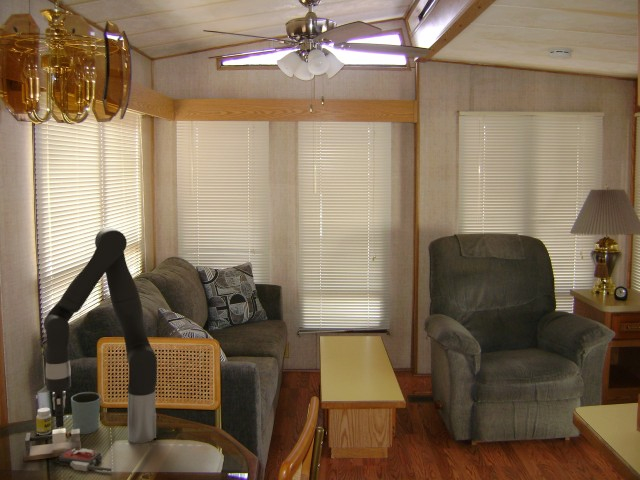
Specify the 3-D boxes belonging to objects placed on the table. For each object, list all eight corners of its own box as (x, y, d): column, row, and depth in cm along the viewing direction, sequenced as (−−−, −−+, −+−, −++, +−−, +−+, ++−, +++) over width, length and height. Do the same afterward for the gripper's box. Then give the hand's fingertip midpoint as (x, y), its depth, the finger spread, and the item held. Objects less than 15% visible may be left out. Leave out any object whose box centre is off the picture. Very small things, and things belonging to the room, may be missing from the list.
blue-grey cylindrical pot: (80, 421, 231) (80, 390, 230) (106, 424, 230) (106, 393, 228) (65, 433, 221) (65, 401, 220) (92, 436, 220) (92, 403, 218)
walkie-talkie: (50, 468, 198) (109, 476, 194) (50, 454, 197) (109, 462, 194) (66, 455, 206) (123, 462, 203) (66, 442, 206) (123, 449, 202)
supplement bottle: (45, 436, 219) (45, 413, 218) (33, 434, 220) (33, 411, 218) (54, 430, 223) (53, 407, 222) (42, 428, 224) (41, 406, 223)
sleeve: (65, 438, 210) (65, 428, 209) (65, 442, 206) (65, 432, 206) (52, 439, 208) (52, 429, 208) (52, 443, 205) (52, 434, 204)
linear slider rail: (80, 444, 213) (80, 426, 213) (80, 453, 207) (80, 434, 206) (25, 451, 207) (25, 432, 206) (24, 460, 201) (23, 441, 200)
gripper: (70, 380, 199) (72, 428, 201) (70, 366, 212) (72, 411, 214) (44, 383, 196) (47, 432, 198) (46, 368, 209) (48, 414, 212)
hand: (60, 421), depth 206 cm, fingers open, 8 cm apart
